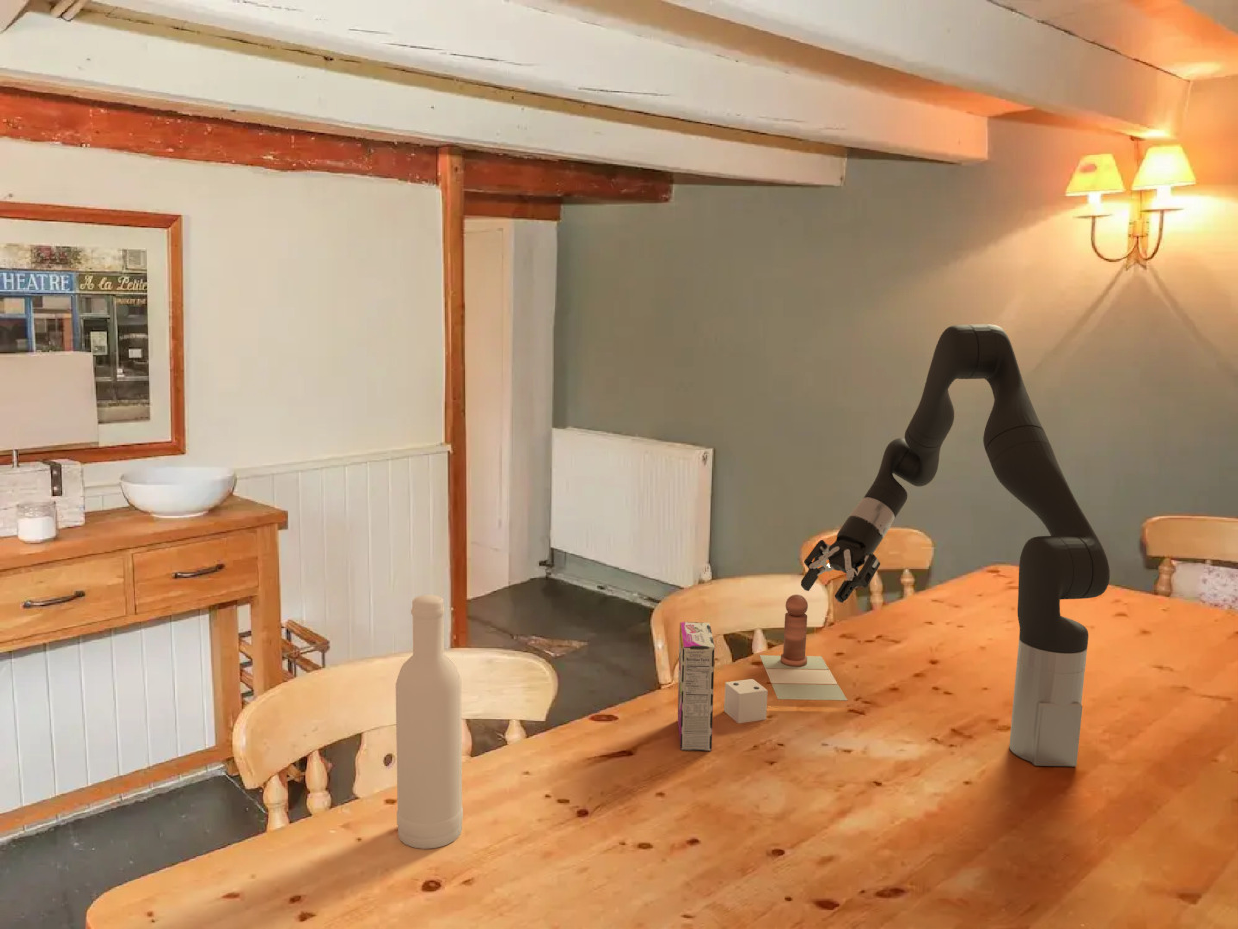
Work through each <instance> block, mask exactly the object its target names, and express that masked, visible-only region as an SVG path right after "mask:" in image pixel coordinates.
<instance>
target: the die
mask: <svg viewBox="0 0 1238 929" xmlns="http://www.w3.org/2000/svg"><path fill="white" fill-rule="evenodd" d="M768 692H769V690H768V689H766V688H765V687H764V686H763V685H762V684H760V683H759V682H757V681H756V680H755V679H753V678H749V679H741V680H733V681H726V682H725V683H724V703H723V705H724V706H723V712H725V713H726V714H727V715H728V716H729V717H730V718H731V719H732V720H733V721H735V722H736V723H737V724H743V723H749V722H750V723H751V722H758V721H765V720H767V711H768V710H767V709H768V708H767V706H768Z"/></svg>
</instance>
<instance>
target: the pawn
mask: <svg viewBox="0 0 1238 929" xmlns="http://www.w3.org/2000/svg"><path fill="white" fill-rule="evenodd" d="M808 607H809V605H808V601H807V600H806V598H805V597H804V596H803V595H801V594H792V595H790V596H789V597H788V598H787V599H786V601H785V610H786V612H785V614H784V629H783V630H784V631H783V646H782V647H783V648H782V649H783V650H782V654H781V655H780V656H781V663H782V664H784V665H787V666H791V667H802V666H805V665H806V664H807V657H806V656H807V655H806V648H807V647H806V646H807V631H808V630H807V629H808V628H807V627H808V614H806V613H807V611H808Z"/></svg>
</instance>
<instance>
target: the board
mask: <svg viewBox="0 0 1238 929" xmlns="http://www.w3.org/2000/svg"><path fill="white" fill-rule="evenodd" d="M805 656H806V657H807V664H806V665H805V666H802V667H791V666H787V665H784V664H782V663H781V655H766V654H765V655H761V654H760V655H759V657H760V660H761V663H762V666H763V667H764V669H765V671H766V675H767V678H769V681H770V684H771V686H772V688H773V691H774V693H775V695H776V697H777V700H798V701H799V700H801V701H802V700H803V701H805V700H807V701H848V699H847V696H845V693H844V692H843V690H842V689H841V687H840V686H839V684H838V682H837V681H836V678H835V676H834V675H833V674H832V672H831V670H830V668H829V667H828V665H827V664H826V662H825V660H824V658H823V657H822V655H821V656H816V655H815V656H814V655H805Z"/></svg>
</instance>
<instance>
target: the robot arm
mask: <svg viewBox="0 0 1238 929" xmlns="http://www.w3.org/2000/svg"><path fill="white" fill-rule="evenodd" d="M957 379H958V380H977V379H978V380H982V379H984V380H985V381H987V383H988V384H989V386H990V388H991V391H992V395H993V399H994V400H993V401H994V402H993V406H992V408H991V411H990V413H989V417H988V419H987V421H986V425H985V427H984V433H983V436H982V437H983V438H982V440H983V447H984V451H985V453H986V455H987V458H988V461H989V463H990V465H991V469H992V470H993V474H994V476H995V477H996V479H997V481H998V482H999V483H1000V484H1001V486H1003V487H1004V488H1005V489H1006V491H1007V492H1009V494H1011V495H1012V496H1014V497H1015V499H1017V500H1018V501H1020V503H1022V504H1023V505H1024V506H1025V507H1026V508H1028V509H1029V510H1030V511H1031V512H1032V513H1034V514H1035V515H1036V517H1037V518H1038V519H1039V520H1040V521H1041V522H1042V524H1043V525H1044V526H1045V528H1046V530H1047V531H1048V533H1049V535H1041V536H1040V535H1039V536H1033V537H1031V538H1029V539H1028V540H1027V541H1026V542H1025V544H1024V546H1023V548H1022V549H1021V553H1020V557H1019V564H1018V590H1017V591H1018V592H1017V595H1018V596H1017V620H1018V627H1019V635H1018V646H1017V658H1016V667H1015V680H1014V688H1013V689H1014V690H1013V701H1012V708H1011V709H1012V711H1011V712H1012V713H1011V724H1010V725H1011V726H1010V735H1009V736H1010V737H1009V749H1010V751H1011V752H1012V753H1013V754H1014V755H1015V756H1017V757H1019V758H1021V759H1022V760H1024V761H1027V762H1030V763H1032V765H1034V766H1036V767H1037V766H1038V767H1040V766H1041V767H1043V766H1044V767H1077V763H1078V754H1079V743H1080V737H1081V736H1080V735H1081V725H1082V714H1083V705H1082V701H1083V691H1084V681H1085V672H1086V665H1087V652H1088V647H1089V646H1088V645H1089V631H1088V629H1087V627H1086V626H1085V625H1084V624H1081V623H1080V622H1079V621H1075V620H1074V619H1070V618H1069V617H1065V616H1062V615H1061V605H1060V604H1061V600H1083V599H1084V600H1085V599H1093V598H1097V597H1099V596H1101V595H1102V594H1104V593H1105V592H1106V590H1107V588H1108V586H1109V584H1110V578H1111V577H1110V576H1111V575H1110V565H1109V560H1108V557H1107V555H1106V552H1105V549H1104V547H1103V545H1102V543H1101V541H1100V539H1099V538H1098V536H1097V534H1096V532H1095V531H1094V529H1093V526H1092V525H1091V524H1090V522H1089V521H1088V519H1087V516H1085V514H1084V512H1083V510H1082V509H1081V507H1080V504H1078V502H1077V500H1076V498H1075V497H1074V496H1075V495H1074V494H1073V492H1072V490H1071V488H1070V486H1069V484H1068V482H1067V480H1066V478H1065V475H1064V474H1063V471H1062V469H1061V467H1060V465H1059V462H1058V461H1057V458H1056V455H1055V453H1054V449H1053V448H1052V445H1051V443H1050V440H1049V438H1048V436H1047V434H1046V432H1045V429H1044V428H1043V426H1042V423H1041V422H1040V420H1039V417H1038V415H1037V413H1036V411H1035V408H1034V406H1033V403H1032V401H1031V399H1030V396H1029V393H1028V391H1027V389H1026V386H1025V383H1024V380H1023V377H1022V374H1021V371H1020V368H1019V364H1018V360H1017V358H1016V354H1015V351H1014V347H1013V345H1012V343H1011V340H1010V338H1009V336H1008V334H1007V333H1006V331H1005V330H1004V329H1003V328H1002V327H1001V326H999V325H996V324H988V323H987V324H978V323H977V324H976V323H975V324H974V323H973V324H955V325H951V326H948V327H947V328H945V330H944V331H943V332H942V333H941V335H940V336H939V338H938V340H937V343H936V347H935V349H934V352H933V355H932V359H931V362H930V366H929V369H928V372H927V377H926V381H925V383H924V387H923V390H922V395H921V398H920V401H919V404H918V406H917V408H916V410H915V411H914V414H913V415H912V418H911V420H910V421H909V424H908V425H907V428H906V429H905V432H904V438H902V437H897V438H895V439H893V440H892V441H890V442H889V443H888V444H887V446H886V447H885V450H884V453H883V455H882V459H881V463H880V466H879V470H878V472H877V474H876V477H875V479H874V481H873V483H872V484H871V486H870V487H869V489H868V490H867V492H866V494H865V495H864V496H863V497H862V499H861V500H860V501H859V503H857V505H856V506H855V507H854V509H853V510H852V511H851V513H850V515H849V516H848V517H847V519H846V520H845V522H844V523H843V525H842V526H841V527H840V529H839V531H838V532H837V534H836V539H835V541H834V542H833V543H832V544H829V543H826V542H825V540H824V539H820V540H819V541H818V542H817V543H816V545H815V546H814V547H813V549H811V552H810V553H809V554H808V555H807V557H806V558H805V559H804V562H803V563H804V565H805V566H806V567H807V568H808V570H807V571H806V573H805V574H804V576H803V577H802V579H801V581H800V586H801V588H803V590H804V591H806V592H809V591H811V589H812V587H813V585H814V584H815V583H816V581H817V580H818V579H819V576H820V575H822V574H823V573H825V572H828V573H830V572H831V571H840V572H843V574H844V573H845V574H846V580H844V581H843V582H842V583H841V585H840V587H839V588H838V590H837V591H836V593H835V594H834V598H835V600H836V601H837V602H838V603H840V604H843V603H844V602H845V601H847V600H848V598H849V597H850V595H851V594H852V593H853V591H854V589H856V588H858V587H862V588H863V589H865V588H867V587H868V586H869V584H870V583H871V581H872V579H873V577H874V576H875V574H876V573H877V571H878V569H879V567H880V565H881V562H880V560H879V559H878V557H877V556H876V555H875V554H874V553H875V551H876V550H877V548H878V547H879V545H880V543H881V542H882V541H883V539H884V538H885V537H886V535H887V533H888V531H889V530H890V528H891V526H892V525H893V522H894V520H895V519H896V517H897V516H898V514H899V512H900V511H901V510H902V508H903V507H904V505H905V504H906V502H907V500H908V492H907V490H906V489H905V487H904V486H903V485H902V484H901V483H900V482H899V481H898V480H897V479H896V478H895V477H894V475H895V476H897V477H899V478H900V479H902V480H903V481H906V482H907V483H908V484H910V485H912V486H914V487H918V488H919V487H921V488H922V487H925V486H927V485H929V484H930V483H931V482H932V481H933V480H934V478H935V477H936V474H937V471H938V468H939V463H940V454H941V447H942V445H943V443H944V441H945V439H946V438H947V435H948V434H949V433H950V431H951V430H952V427H953V424H954V422H955V421H954V420H955V408H954V405H953V402H952V399H951V397H950V393H949V388H950V387H951V385H952V384H953V382H954V381H955V380H957ZM893 474H894V475H893ZM827 561H828V562H827ZM860 567H861V569H860Z"/></svg>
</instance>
